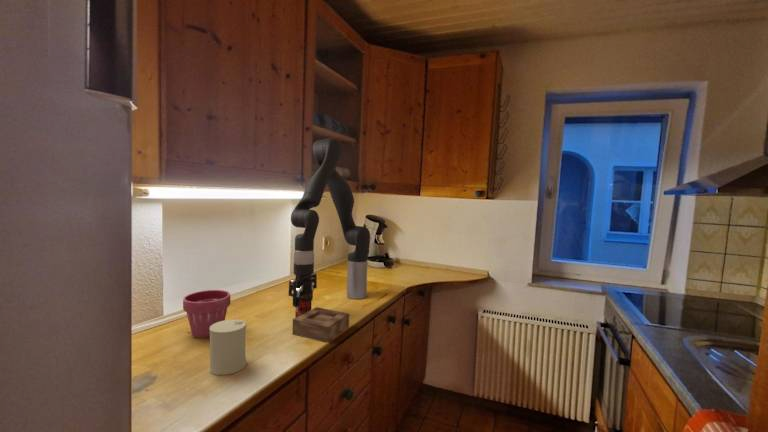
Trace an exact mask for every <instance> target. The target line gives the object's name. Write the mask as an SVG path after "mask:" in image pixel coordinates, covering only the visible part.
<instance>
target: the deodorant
mask: <svg viewBox="0 0 768 432" xmlns="http://www.w3.org/2000/svg"><path fill="white" fill-rule="evenodd" d="M303 283H304V284H303ZM302 284H303V290H302V292H300V295H299V306H298V307H295V310H294V311H295V313H294V314H295V315H294V316H295V318H296V317H298V316H300V315H302V314H304V313H306V312H308V311H310V310H312V301H311V299H312V279H311V278H310V280H306V281H302V283H301V285H302ZM297 288H300V287H299V286H297ZM297 292H298V291H296V294H297Z"/></svg>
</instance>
